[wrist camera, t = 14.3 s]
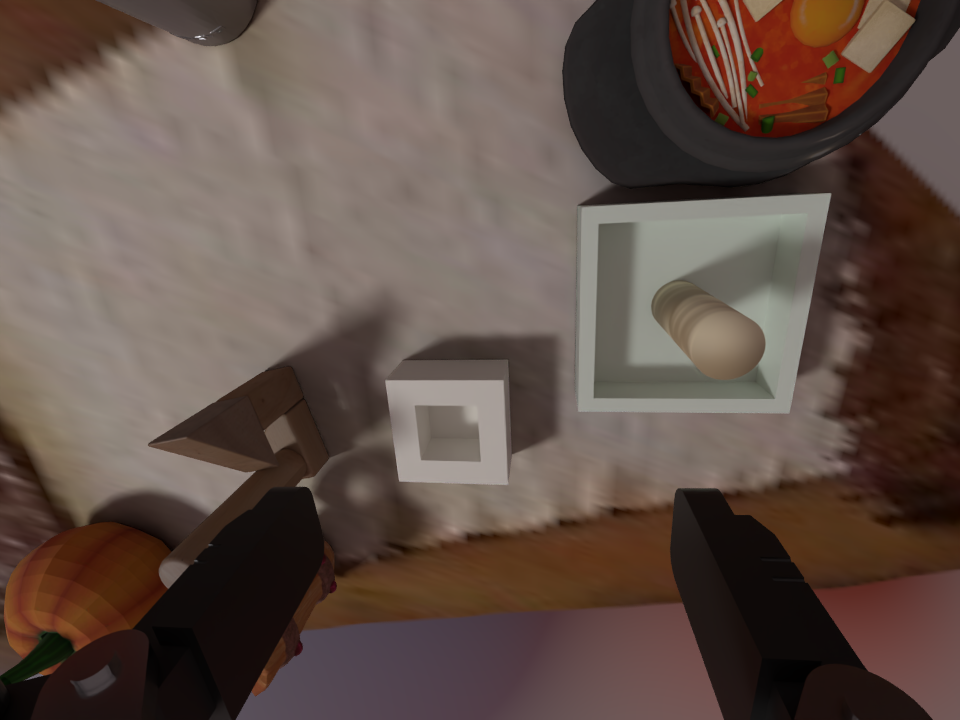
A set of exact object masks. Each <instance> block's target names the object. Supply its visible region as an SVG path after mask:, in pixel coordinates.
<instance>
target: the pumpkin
mask: <svg viewBox="0 0 960 720" xmlns="http://www.w3.org/2000/svg"><path fill="white" fill-rule="evenodd" d="M170 553H171V551H170V550H169V549H168V547H167V546H166V545H165V544H164V543H163V542H162V541H161V540H159V539H157V538H155V537H153V536H151V535H148V534H146V533H144V532H142V531H140V530H138V529H135V528H132V527H129V526H125V525H122V524H119V523H115V522H100V523H96V524H91V525H87V526H82V527H77V528H74V529H71V530H67V531H64V532H62V533H60V534H58V535H56V536H54V537H53V538H51V539H49V540H48V541H46V542H45V543H43V544H42V545H40V546H39V547H37V548H36V549H34V550H33V551H32V552H31V553H29V554H28V555H27V556H26V557H25V558H24V559H23V560H21V561H20V563H19V564H18V565H17V567H16V568H15V570H14V571H13V572H12V574H11V577H10V579H9V582H8V585H7V587H6V596H5V606H4V621H5V626H6V632H7V637H8V641H9V644H10V646H11V647H12V648H13V649H14V650H15V651H16V652H17V653H18V654H19V655H20V656H21V657H22V658H23V660H22V661H21V662H20V663H19V664H17V665H16V666H14V667H13V668H11V669H10V670H8V671H7V672H5V673H4V674H2V675H1V676H0V680H1V681H2V683H3V684H4V686H5V685H9V684H13V683H17V682H21V681H24V680H25V679H28V678H30V677H32V676H34V675H36V674H38V673H39V674H42V675H49V674H52V673H53V672H54V671H55V670H56V669H57V668H58V667H59V666H60V665H61V664H62V663H63V662H64V661H65V660H66V659H67V658H69V657H70V656H71V655H73V654H74V653H75V652H76V651H78V650H79V649H81V648H82V647H84V646H85V645H87V644H89V643H91V642H92V641H94V640H96V639H98V638H100V637H102V636H105V635H107V634H110V633H113V632H117V631H120V630H127V629H133V628H134V627H135V625H136V624H137V623H138V622H139V621H140V620H141V619H142V618H143V617H144V615H145V614H146V613H147V612H148V611H149V610H150V609H151V608H152V607H153V605H154V604H155V603H156V602H157V601H158V600H159V599H160V598H161V597H162V595H163V594H164V593H165V592H166V591H167V590H168V588H167V587H166V586H165V585H164V584H163V582H162V581H161V578H160V576H159V568H160V565H161V563H162V561H163V560H164V559H165V558H166V557H167V556H168V555H169V554H170Z"/></svg>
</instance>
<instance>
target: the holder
mask: <svg viewBox="0 0 960 720" xmlns="http://www.w3.org/2000/svg"><path fill="white" fill-rule="evenodd" d="M385 382H386V389H387V397H388V404H389V411H390V419H391V426H392V433H393V441H394V448H395V455H396V463H397V470H398V477H399V481H400V482H431V483H462V484H494V485H508V481H509V473H510V465H511V458H512V445H511V419H510V393H509V366H508V359H502V360H402V362H401V363H400V364H399V365H398V366H397V367H396V369H395V370H394V371H393V372H392V373H391V374H390V376H389V377H388V378H387V379H386V380H385Z"/></svg>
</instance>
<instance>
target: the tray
mask: <svg viewBox="0 0 960 720" xmlns="http://www.w3.org/2000/svg"><path fill="white" fill-rule="evenodd" d="M830 198H831V193H792V194H775V195H757V196H739V197H721V198H704V199H686V200H668V201H650V202H632V203H615V204H597V205H579V206H577V271H576V340H575V394H576V401H577V408H578V412H691V413H790V408H791V402H792V397H793V392H794V387H795V381H796V376H797V371H798V366H799V360H800V355H801V350H802V345H803V339H804V334H805V329H806V324H807V318H808V313H809V308H810V303H811V297H812V292H813V287H814V282H815V276H816V271H817V266H818V261H819V255H820V250H821V245H822V240H823V234H824V229H825V224H826V219H827V213H828V208H829V203H830ZM677 280H683V281H688V282H690V283H693V284H694V285H696V286H697V287H699V288H701V289H702V290H704V291H706V292H707V293H709V294H710V295H712V296H714V297H715V298H717V299H719V300H720V301H722V302H724V303H725V304H727V305H728V306H730V307H732V308H733V309H735V310H737V311H738V312H740V313H742V314H743V315H745V316H746V317H748V318H750V319H751V320H753V321H754V322H756V323H757V324H758V325H759V326H760V327H761V329H762V331H763V333H764V335H765V341H766V346H765V351H764V354H763V357H762V358H761V360H760V362H759V363H758V364H757V365H756V367H755V368H753V369H752V370H751V371H750V372H748V373H747V374H745V375H743V376H741V377H738V378H735V379H730V380H719V379H714V378H711V377H708V376H706V375H705V374H703V373H702V372H701V371H700V370H699V369H698V368H697V367H696V366H695V364H694V363H693V362H692V361H691V360H690V359H689V358H688V356H687V355H686V354H685V353H684V352H683V351H682V350H681V348H680V347H679V346H678V345H677V344H676V343H675V342H674V341H673V339H672V338H671V337H670V336H669V335H668V334H667V333H666V331H665V330H664V329H663V328H662V327H661V326H660V325H659V323H658V322H657V321H656V320H655V319H654V317H653V315H652V311H651V303H652V299H653V297H654V295H655V293H656V292H657V291H658V290H659V289H660V288H661V287H662V286H663V285H665V284H667V283H669V282H672V281H677Z"/></svg>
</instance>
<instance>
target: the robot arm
mask: <svg viewBox="0 0 960 720" xmlns="http://www.w3.org/2000/svg"><path fill="white" fill-rule="evenodd" d="M96 1H99V2H101V3H103V4H106V5H108V6H110V7H112V8H115V9H117V10H119V11H122V12H124V13H126V14H129V15H131V16H133V17H135V18H138V19H140V20H142V21H145V22H147V23H149V24H151V25H154V26H156V27H158V28H160V29H163V30H165V31H167V32H170V34H173V35H175V36H177V37H180V38H183V39H186V40H188V41H191V42H193V43H196V44H200V45H203V46H218V45H222V44H226V43H228V42H230V41H232V40H233V39H235V38H237V37H238V36H239V35H240V34H241V33H242V31H243V30H244V29H245V28H246V27H247V25H248V23H249V21H250V20H251V18H252V16H253V13H254V10H255V7H256V3H257V0H96ZM208 545H209V546H208V548H205V549H204V550H203V551H202V552H201V553H200V554H199V555H198V557H197V558H196V559H195V560H194V564H193V565H192V564H190V565H189V567H188V568H187V569H186V570H185V571H184V572H183V573H182V574H181V575H180V577H179V578H178V579H177V580H176V581H175V582H174V583H173V584H172V585H171V587H170V588H169V589H168V590H167V591H166V592H165V593H164V594H163V595H162V597H161V598H160V599H159V600H158V601H157V602H156V603H155V604H154V605H153V607H152V608H151V609H150V610H149V611H148V612H147V613H146V614H145V615H144V617H143V618H142V619H141V620H140V621H139V622H138V623H137V624H136V625H135V627H134V628H133V629H127V630H120V631H117V632H113V633H110V634H107V635H105V636H102V637H100V638H98V639H96V640H94V641H92V642H91V643H89V644H87V645H85V646H84V647H82V648H81V649H79V650H78V651H76V652H75V653H74V654H73V655H71V656H70V657H69V658H67V659H66V660H65V661H64V662H63V663H62V664H61V665H60V666H59V667H58V668H57V669H56V670H55V671H54V672H53V673H52V674H49V675H45V676H41V677H37V678H33V679H29V680H25V681H21V682H17V683H13V684H9V685H5V686H4V684H3V683H2V681H1V680H0V720H236V718H237V716H238V714H239V713H240V711H241V709H242V707H243V705H244V704H245V702H246V700H247V698H248V696H249V695H250V693H251V691H252V689H253V688H254V686H255V684H256V682H257V680H258V679H259V677H260V675H261V673H262V671H263V670H264V668H265V666H266V664H267V662H268V661H269V659H270V657H271V655H272V653H273V652H274V650H275V648H276V646H277V644H278V643H279V641H280V639H281V637H282V635H283V634H284V632H285V630H286V628H287V626H288V625H289V623H290V621H291V619H292V617H293V616H294V614H295V612H296V610H297V608H298V607H299V605H300V603H301V601H302V599H303V598H304V596H305V594H306V592H307V590H308V589H309V587H310V585H311V583H312V581H313V580H314V578H315V576H316V574H317V572H318V571H319V569H320V566H321V564H322V561H323V556H324V538H323V534H322V530H321V526H320V522H319V518H318V515H317V511H316V507H315V503H314V499H313V495H312V493H311V491H310V489H309V488H307V487H273V488H271V489H270V490H269V491H268V492H267V493H266V494H265V495H264V496H263V497H262V498H261V500H260V501H259V502H258V503H257V504H256V505H255V507H254V508H253V509H252V510H247V511H246V512H244V513H243V514H241V515H240V516H238V517H237V518H235V519H234V520H233V521H231V522H230V523H228V524H227V525H225V527H224V528H223V529H222V530H221V531H220V532H219V533H218V534H217V535H216V537H215V538H214V539H213V540H212V541H211V542H210V543H209V544H208ZM670 554H671V564H672V570H673V574H674V578H675V581H676V584H677V587H678V590H679V593H680V596H681V598H682V601H683V604H684V607H685V610H686V613H687V615H688V618H689V621H690V624H691V627H692V630H693V633H694V635H695V638H696V641H697V644H698V647H699V650H700V652H701V655H702V658H703V661H704V664H705V667H706V669H707V672H708V675H709V678H710V681H711V684H712V687H713V689H714V692H715V695H716V698H717V701H718V703H719V707H720V709H721V712H722V715H723V718H724V720H933V719H932V718H931V717H930V716H929V715H928V713H927V712H926V711H925V710H924V709H923V708H922V707H921V706H920V705H919V704H918V703H917V702H916V701H915V700H914V699H912V698H911V697H910V696H908V695H907V694H906V693H905V692H904V691H902V690H901V689H899V688H898V687H896V686H895V685H893V684H892V683H890V682H889V681H887V680H885V679H883V678H881V677H880V676H878V675H875V674H873V673H871V672H869V671H868V670H867V669H866V668H865V666H864V665H863V664H862V662H861V661H860V659H859V658H858V657H857V655H856V654H855V652H854V651H853V649H852V648H851V646H850V645H849V643H848V642H847V640H846V639H845V638H844V636H843V634H842V633H841V632H840V630H839V629H838V627H837V626H836V624H835V623H834V621H833V620H832V618H831V617H830V615H829V614H828V612H827V611H826V609H825V608H824V606H823V605H822V604H821V602H820V600H819V599H818V598H817V596H816V595H815V593H814V592H813V590H812V589H811V587H810V586H809V584H808V583H805V581H804V577H803V575H802V574H801V573H800V571H799V570H798V568H797V567H796V565H795V564H794V562H791V560H790V556H789V555H788V553H787V552H786V550H785V549H784V547H783V546H782V545H781V543H780V542H779V540H778V539H777V537H776V536H775V534H773V533H772V532H771V531H770V530H768V529H767V528H766V527H764V526H763V525H762V524H761V523H759V522H758V521H757V520H756V519H754V518H753V517H752V516H751V515H734V513H733V512H732V510H731V508H730V507H729V505H728V503H727V502H726V500H725V498H724V497H723V495H722V493H721V492H720V491H719V490H718V489H715V488H678V489H677V490H676V493H675V499H674V511H673V522H672V534H671V546H670Z"/></svg>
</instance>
